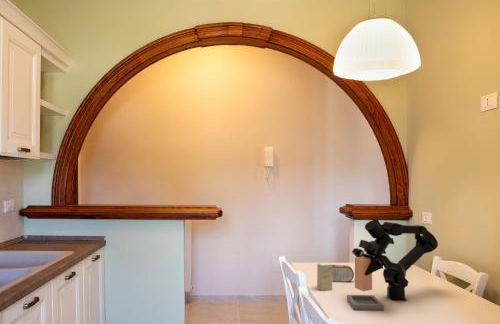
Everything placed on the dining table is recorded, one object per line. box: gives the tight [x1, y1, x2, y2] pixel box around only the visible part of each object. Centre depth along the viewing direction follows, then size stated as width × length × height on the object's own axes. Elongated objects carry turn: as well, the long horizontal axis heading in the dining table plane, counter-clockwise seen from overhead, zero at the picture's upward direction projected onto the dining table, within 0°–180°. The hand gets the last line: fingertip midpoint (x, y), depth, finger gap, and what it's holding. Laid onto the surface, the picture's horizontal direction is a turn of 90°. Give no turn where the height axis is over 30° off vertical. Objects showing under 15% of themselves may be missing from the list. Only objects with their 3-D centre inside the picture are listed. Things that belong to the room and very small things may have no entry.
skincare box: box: [316, 262, 333, 291], centre depth 171 cm, size 6×4×12 cm
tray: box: [346, 294, 385, 312], centre depth 150 cm, size 12×12×2 cm
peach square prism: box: [354, 256, 373, 292], centre depth 151 cm, size 5×5×13 cm
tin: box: [332, 264, 355, 283], centre depth 184 cm, size 15×3×8 cm, turn 84°
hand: (360, 273), depth 150 cm, fingers closed on peach square prism, 5 cm apart
